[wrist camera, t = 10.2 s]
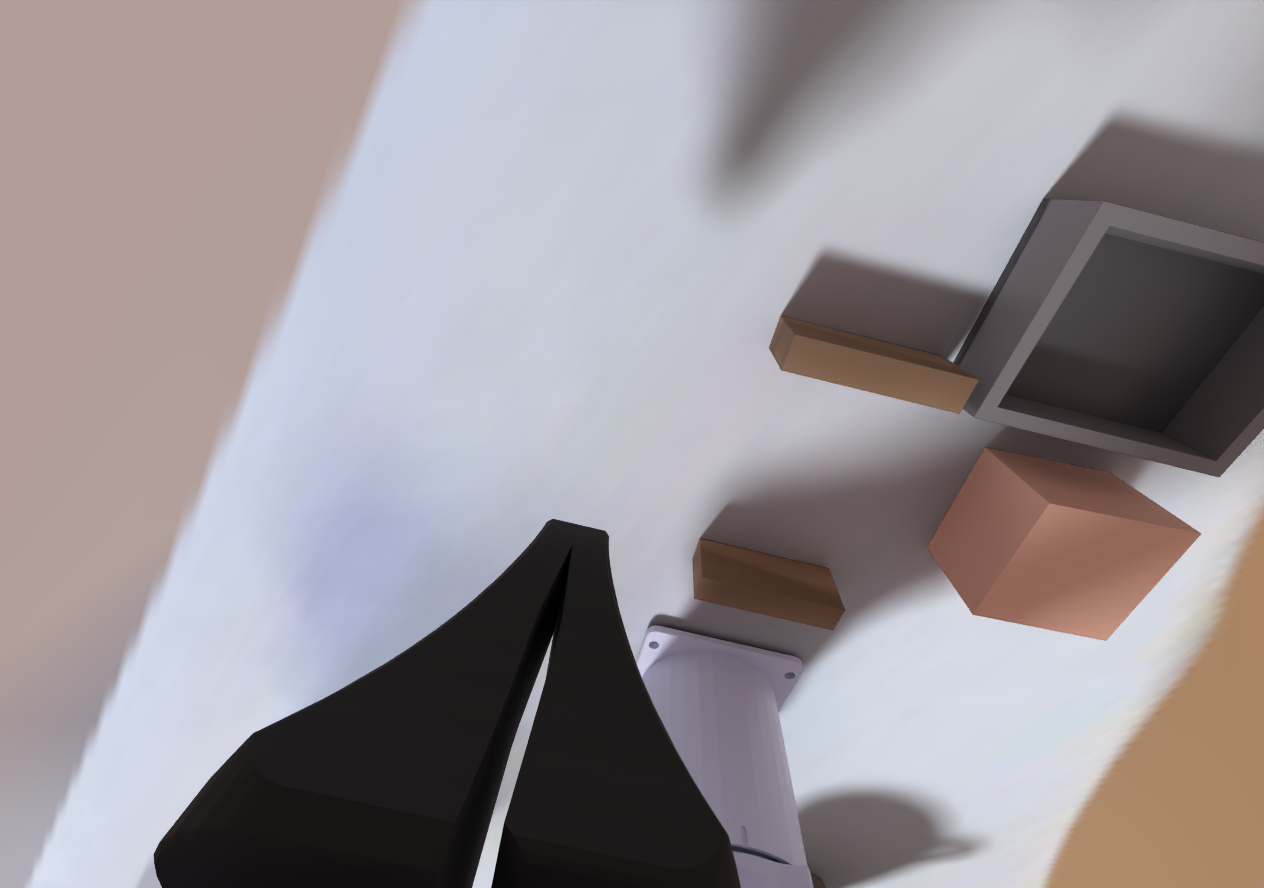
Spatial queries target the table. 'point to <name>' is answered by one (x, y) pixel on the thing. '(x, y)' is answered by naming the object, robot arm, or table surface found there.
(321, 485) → the table surface
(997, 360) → the box
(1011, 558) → the terracotta block
